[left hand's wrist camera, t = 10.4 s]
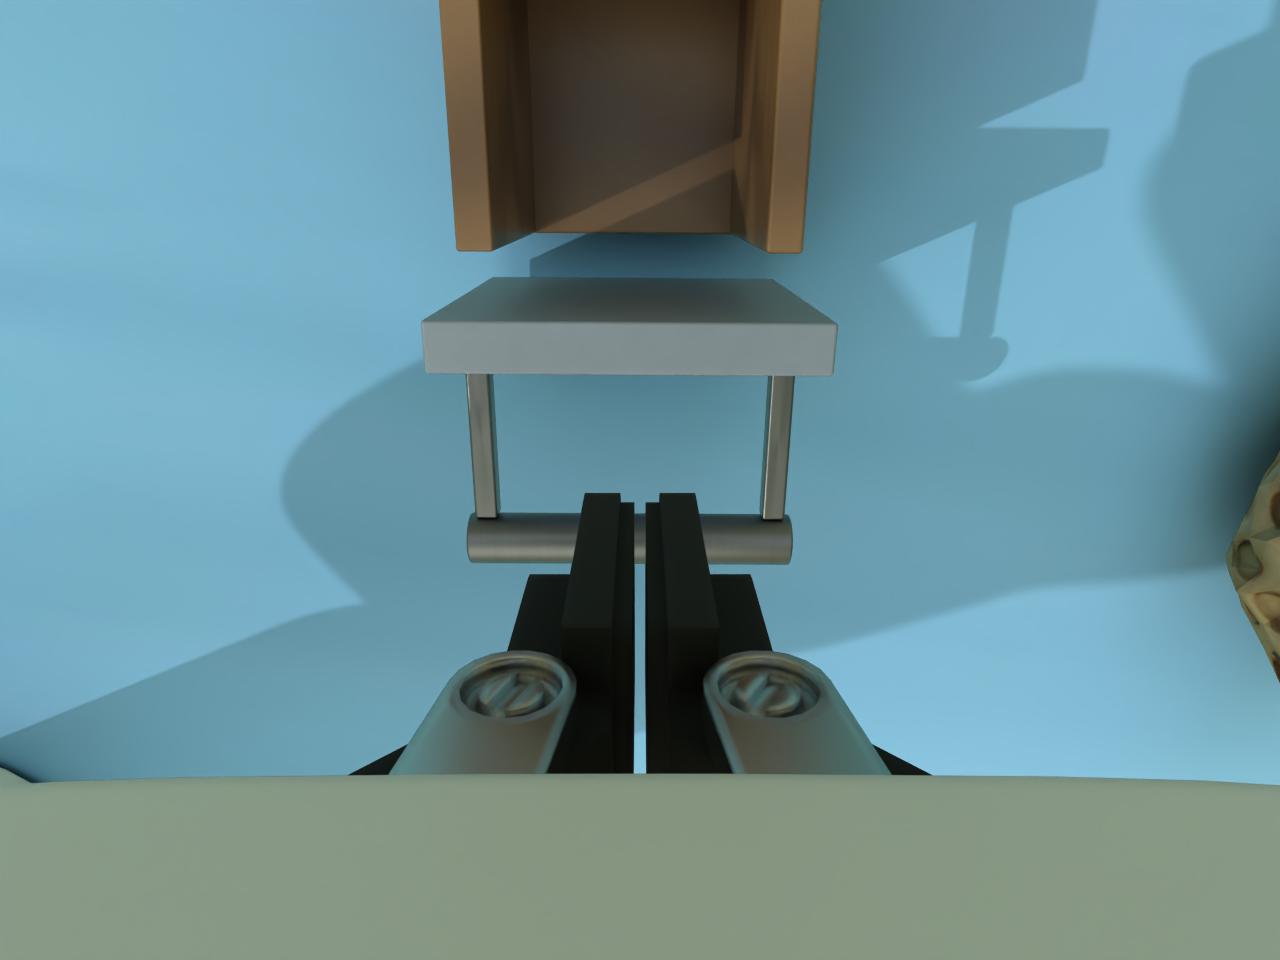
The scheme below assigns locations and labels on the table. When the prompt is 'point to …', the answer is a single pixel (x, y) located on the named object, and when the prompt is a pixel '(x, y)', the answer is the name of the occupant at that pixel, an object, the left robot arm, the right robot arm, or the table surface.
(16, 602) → the table surface
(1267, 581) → the teapot
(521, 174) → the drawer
